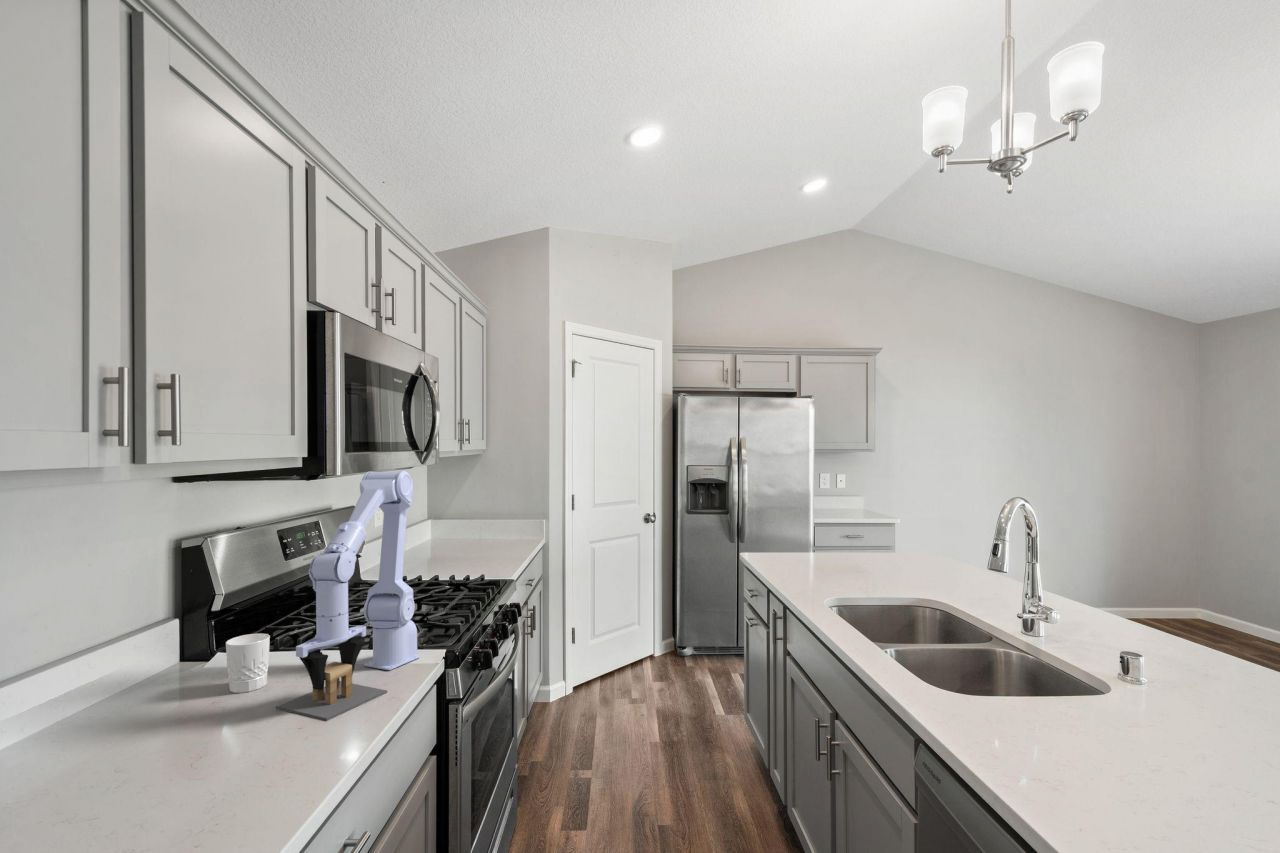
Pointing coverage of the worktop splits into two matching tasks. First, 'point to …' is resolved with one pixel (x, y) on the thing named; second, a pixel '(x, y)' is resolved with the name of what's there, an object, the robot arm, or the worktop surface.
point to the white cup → (247, 662)
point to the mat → (327, 711)
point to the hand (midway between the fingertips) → (333, 682)
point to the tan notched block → (335, 683)
